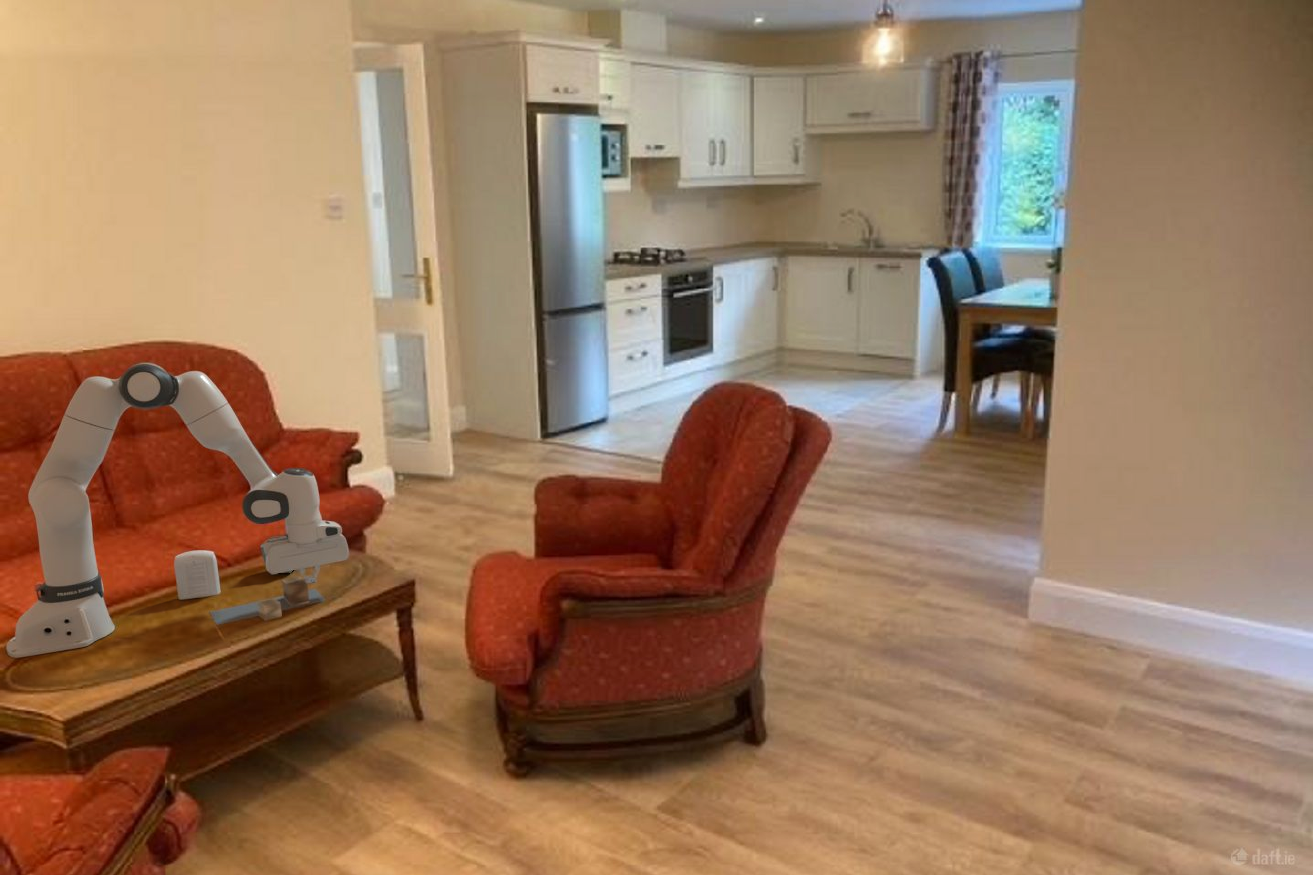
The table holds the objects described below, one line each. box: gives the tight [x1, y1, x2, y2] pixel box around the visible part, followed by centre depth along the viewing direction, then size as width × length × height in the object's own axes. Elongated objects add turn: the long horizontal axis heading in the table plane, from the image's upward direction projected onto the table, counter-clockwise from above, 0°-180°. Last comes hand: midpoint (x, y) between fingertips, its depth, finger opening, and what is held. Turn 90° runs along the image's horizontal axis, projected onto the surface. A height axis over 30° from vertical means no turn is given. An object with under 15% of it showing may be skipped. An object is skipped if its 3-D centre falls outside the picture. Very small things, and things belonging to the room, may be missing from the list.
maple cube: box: [258, 598, 283, 622], centre depth 251 cm, size 4×4×4 cm
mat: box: [209, 588, 327, 626], centre depth 259 cm, size 26×11×1 cm, turn 122°
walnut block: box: [281, 575, 309, 606], centre depth 262 cm, size 4×8×5 cm, turn 32°
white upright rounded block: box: [173, 549, 221, 600], centre depth 269 cm, size 10×4×12 cm, turn 107°
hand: (310, 582), depth 264 cm, fingers closed
